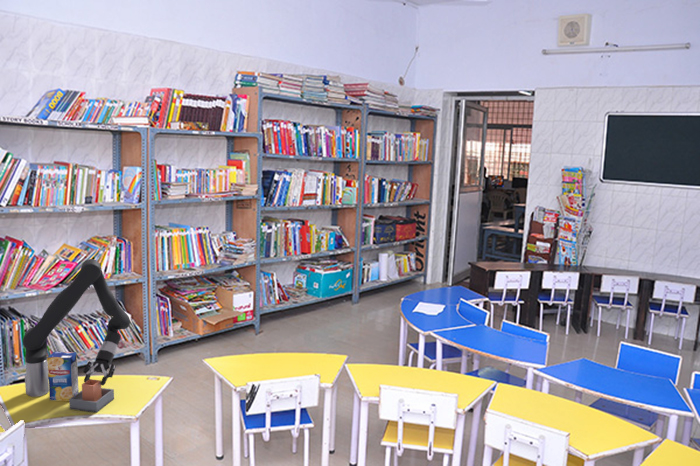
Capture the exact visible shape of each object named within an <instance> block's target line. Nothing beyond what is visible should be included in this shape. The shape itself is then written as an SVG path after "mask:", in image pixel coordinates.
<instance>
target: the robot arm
mask: <svg viewBox="0 0 700 466" xmlns="http://www.w3.org/2000/svg"><path fill="white" fill-rule="evenodd" d="M91 286H92V287H93V289H94V290H95V293H96V296H97V298H98V301H99V303H100V305H101V307H102V308H103V311H104V312H105V314H106V315H107V316H111V317H110V319H109V320H108V322H107V329H106V335H105V337H104V340H103V342H102V344H101V345H100V348H99V350H98V352H97V355H96V357H95V360H94V362H93V361H88V362H87V363H86V365H85V367H84V370H83V372H82V373H83V374H85V377H84V379H83V383H85V382H86V381H88V380H89V379H91V376H92V375H93V374H96V373H101V374H103V376H102V379H101V383H100V384H101V387H102V386H104V385H105V384H106V382H107V380H108V379H109V378H113V376H114V373H115V370H116V365H115V364H114V363H113V360H114V358H115V357H114V356H115V354H116V352H117V349H118V346H119V344H120V342H121V338H122V335H121V334H120V333H119V330H126V329H128V328H129V326H130V324H131V321H130V319H131V318H130V317H129V315H128V314H127V313H126V312H125V310H123V309H122V308H121V306H120V305H119V303H118V301H117V299H116V297H115V296H114V294H113V293H112V291H111V288H110V287H109V285H108V283H107V281H106V278H105V276H104V274H103V270H102V266H101V264H100V262H99V261H97V260H96V259H93V258H89V259H86V260H84V261H83V262H82V264H81V266H80V271H79V272H78V274H77V276H76V277H75V278H74V280H73V281H72V282H71V283H70V284H69V285H68V286H67V287H65V288H64V289H63V290H61V291H60V292H59V293H58V294H57V295H56V297H55V298H54V299H53V300H52V302H51V303H50V304H49V305H48V306H47V308H46V310H45V311H44V313H43V314H42V316H41V318H40V320H39V321H38V322H37V323H36V325H35V326H33V327H30V328H29V329H28V330H26V333H25V334H24V336H23V338H22V345H23V347H24V348H25V356H24V357H25V358H24V359H25V371H26V372H25V373H26V375H24V384H25V385H24V387H25V395H28V396H29V397H31V398H36V397H41V396H45V395H47V394H48V393H49V378H48V362H47V357H48V337H49V336H50V334H51V333H52V331H53V330H54V329H55V328H56V327H57V326H58V325H59V324H60V323H61V322H62V321H63V320H64V318H65V317H67V315H68V314H69V313H70V312H71V311H72V309H73V308H74V307H75V306H76V304H77V303H78V302H79V300H80V299H81V298H82V296H83V295H84V294H85V292H86V291H87V290H88V289H89V288H90V287H91ZM108 369H109V370H108Z"/></svg>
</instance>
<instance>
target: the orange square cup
mask: <svg viewBox="0 0 700 466" xmlns="http://www.w3.org/2000/svg"><path fill="white" fill-rule="evenodd" d="M101 381H102V379H100V380H98V379H91V378H90V379H89V380H88V381H86V382H83V383H82V384H81V391H82V399H83V400H86V401H94V402H96V401H98V400H99V399H100V398H101V397H102V392H101V388H102V385H101V384H100V383H101Z"/></svg>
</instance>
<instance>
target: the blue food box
mask: <svg viewBox="0 0 700 466" xmlns="http://www.w3.org/2000/svg"><path fill="white" fill-rule="evenodd" d="M47 367H48V383H49V392H48V393H49V401H67V402H68V401H69V399H70V398H72V397H73V396H75V395H76V394H77V393H79V392H80V391H79V377H78V376H79V372H78V355H77V352H75V351H73V352H72V351H53V352H52V353H51V354H49V355H47Z"/></svg>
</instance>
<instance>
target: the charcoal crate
mask: <svg viewBox="0 0 700 466" xmlns="http://www.w3.org/2000/svg"><path fill="white" fill-rule="evenodd" d="M114 390H115V389H113V388H105V387H101V392H102V397H101V398H100V399H99V400H98V401H96V402H94V401H86V400H83V399H82V390H80V391H79V393H77V394H76V395H75V396H73V397H72V398H70V399H69V402H68V403H69V410H72V411H73V410H74V411H80V412H89V413H95V414H97V413H98V412H100V411H101V410H102V409H103V408H105V407H106V406H107V405H108V404H110V403H111V402H112V401H114V400H115V391H114Z"/></svg>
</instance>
